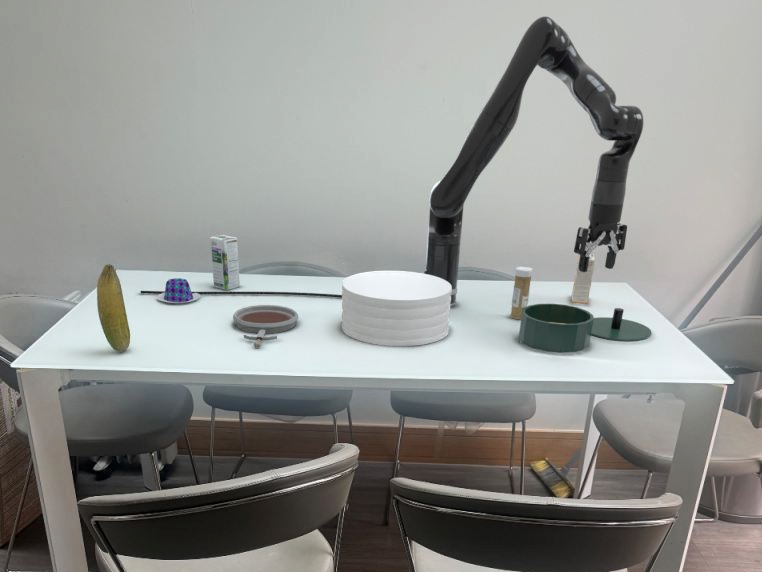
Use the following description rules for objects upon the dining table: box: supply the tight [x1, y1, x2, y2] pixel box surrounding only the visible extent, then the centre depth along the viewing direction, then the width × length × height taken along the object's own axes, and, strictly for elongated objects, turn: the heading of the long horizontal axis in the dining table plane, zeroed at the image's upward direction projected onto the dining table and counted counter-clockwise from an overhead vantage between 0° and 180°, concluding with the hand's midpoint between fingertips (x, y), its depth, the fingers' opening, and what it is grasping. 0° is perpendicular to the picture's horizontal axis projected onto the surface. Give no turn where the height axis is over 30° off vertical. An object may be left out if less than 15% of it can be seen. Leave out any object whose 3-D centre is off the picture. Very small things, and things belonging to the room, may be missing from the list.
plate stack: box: [341, 270, 452, 347], centre depth 197 cm, size 28×28×12 cm
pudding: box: [156, 277, 201, 304], centre depth 215 cm, size 12×12×5 cm
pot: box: [518, 303, 595, 354], centre depth 193 cm, size 18×18×8 cm
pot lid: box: [591, 307, 652, 342], centre depth 202 cm, size 19×19×6 cm
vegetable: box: [96, 263, 131, 353], centre depth 174 cm, size 6×6×20 cm
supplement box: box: [570, 253, 596, 305], centre depth 225 cm, size 8×5×13 cm, turn 168°
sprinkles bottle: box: [510, 266, 533, 320], centre depth 209 cm, size 5×5×14 cm
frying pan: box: [232, 304, 299, 349], centre depth 195 cm, size 17×3×28 cm
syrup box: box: [210, 234, 241, 291], centre depth 225 cm, size 6×6×14 cm
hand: (595, 269), depth 190 cm, fingers open, 8 cm apart
